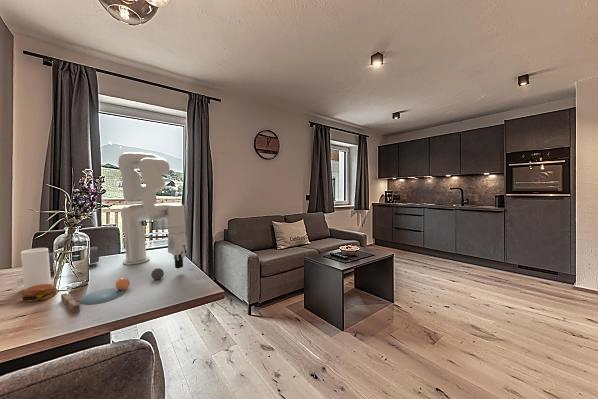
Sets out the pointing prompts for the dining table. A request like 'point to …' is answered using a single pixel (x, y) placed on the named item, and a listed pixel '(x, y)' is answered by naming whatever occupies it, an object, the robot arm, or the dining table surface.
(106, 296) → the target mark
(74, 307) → the stopper wall
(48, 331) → the dining table surface
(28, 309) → the dining table surface
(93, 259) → the bluetooth speaker
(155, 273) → the dark grey sphere
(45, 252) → the cup
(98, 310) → the dining table surface
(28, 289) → the burger
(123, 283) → the object ball
